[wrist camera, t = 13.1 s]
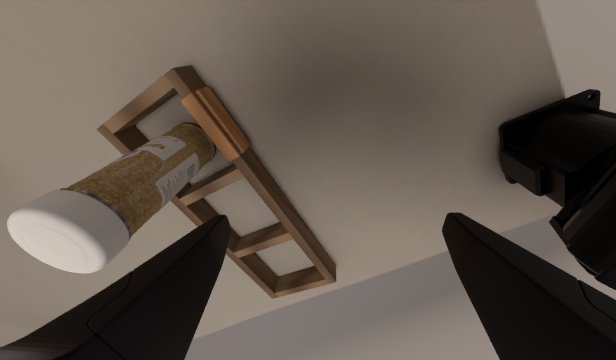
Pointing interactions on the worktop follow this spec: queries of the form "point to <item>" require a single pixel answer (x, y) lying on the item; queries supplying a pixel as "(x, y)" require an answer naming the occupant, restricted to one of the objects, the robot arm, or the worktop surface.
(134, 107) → the rack
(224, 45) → the worktop surface
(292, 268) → the worktop surface
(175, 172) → the sprinkles bottle
